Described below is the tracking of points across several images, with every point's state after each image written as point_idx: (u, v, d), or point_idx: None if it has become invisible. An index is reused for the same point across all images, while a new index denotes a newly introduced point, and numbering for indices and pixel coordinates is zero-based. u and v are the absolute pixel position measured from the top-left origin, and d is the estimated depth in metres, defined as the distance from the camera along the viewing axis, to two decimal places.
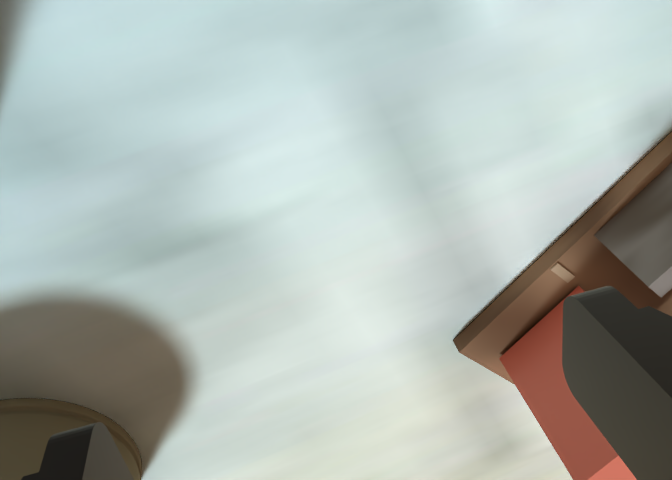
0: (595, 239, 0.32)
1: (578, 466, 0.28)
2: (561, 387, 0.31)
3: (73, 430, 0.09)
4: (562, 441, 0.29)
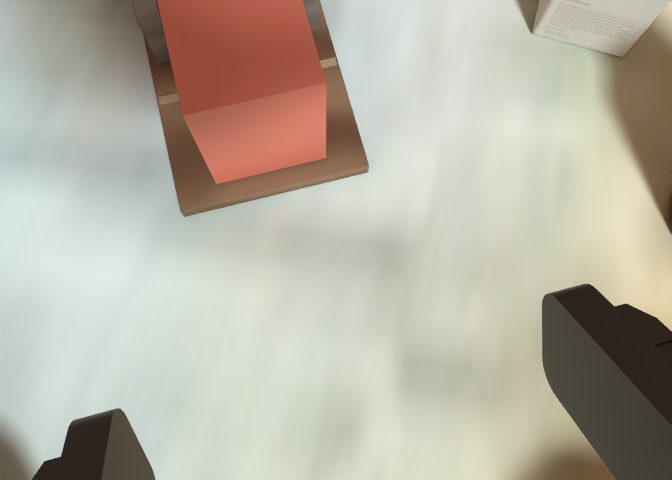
0: (163, 63, 0.37)
1: None
2: None
3: (93, 416, 0.10)
4: None
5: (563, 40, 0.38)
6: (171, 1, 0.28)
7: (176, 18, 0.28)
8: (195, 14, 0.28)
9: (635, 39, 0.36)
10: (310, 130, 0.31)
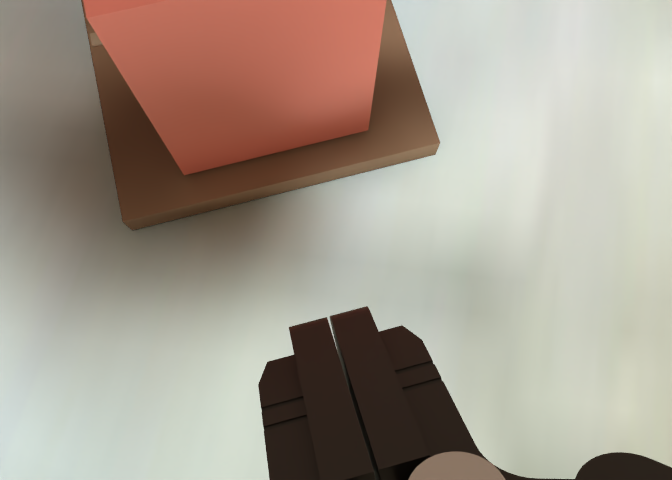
0: None
1: None
2: None
3: (308, 323, 0.11)
4: None
5: None
6: None
7: None
8: None
9: None
10: (349, 71, 0.17)
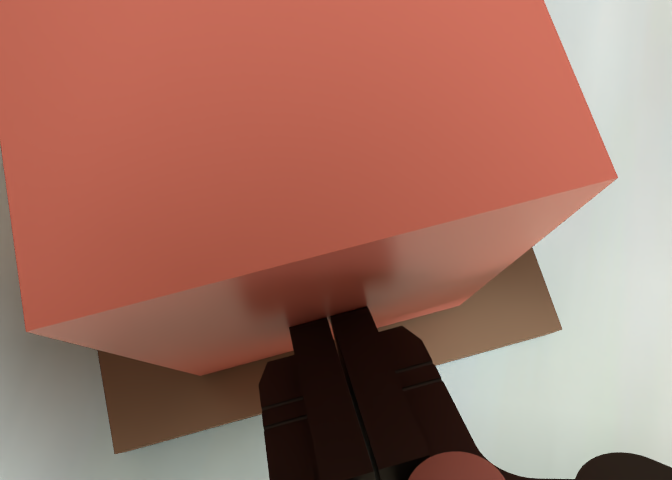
0: None
1: None
2: None
3: (309, 323, 0.11)
4: None
5: None
6: None
7: None
8: None
9: None
10: (463, 279, 0.11)
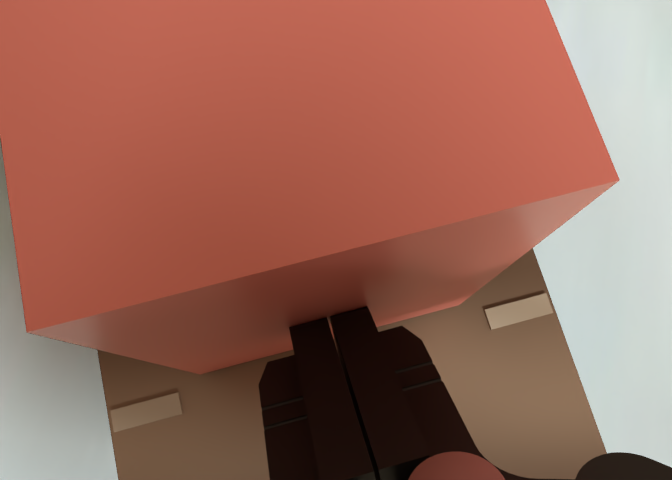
0: None
1: None
2: None
3: (308, 322, 0.11)
4: None
5: None
6: None
7: None
8: None
9: None
10: (463, 279, 0.11)
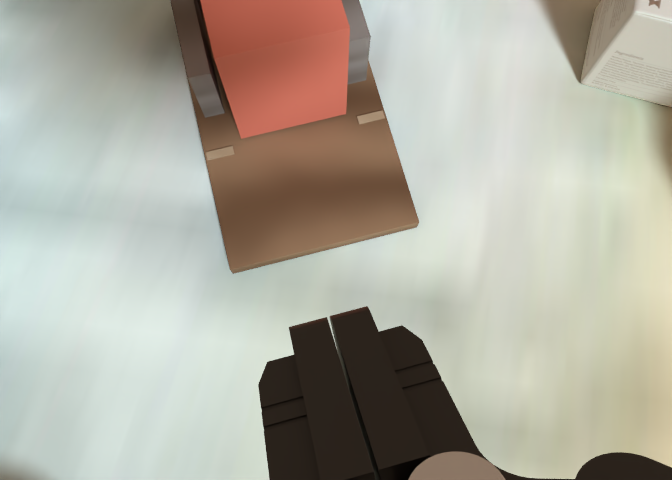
0: (210, 118, 0.36)
1: None
2: None
3: (308, 323, 0.11)
4: None
5: (612, 90, 0.38)
6: None
7: None
8: None
9: None
10: (332, 80, 0.32)
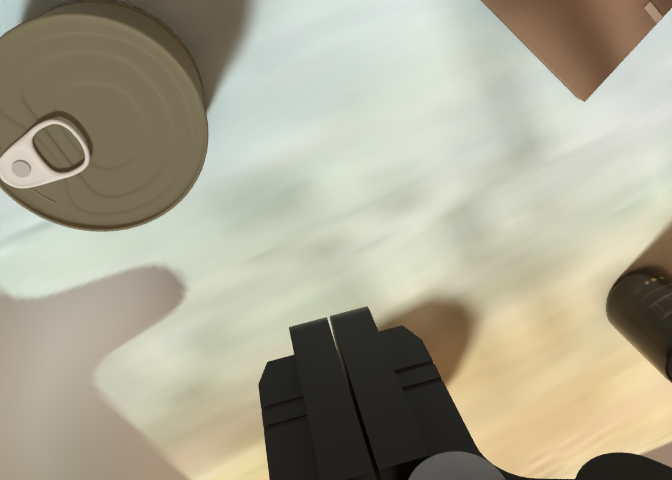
0: None
1: None
2: None
3: (308, 323, 0.11)
4: None
5: None
6: None
7: None
8: None
9: None
10: None
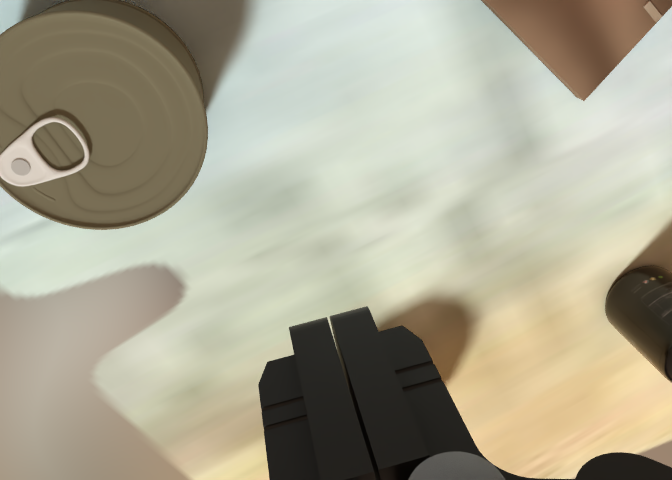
0: None
1: None
2: None
3: (308, 323, 0.11)
4: None
5: None
6: None
7: None
8: None
9: None
10: None
